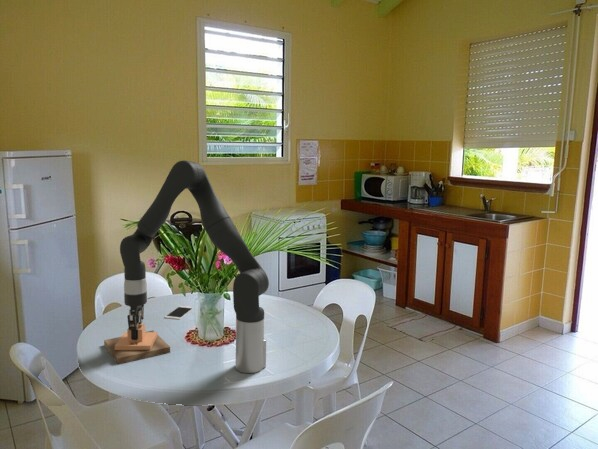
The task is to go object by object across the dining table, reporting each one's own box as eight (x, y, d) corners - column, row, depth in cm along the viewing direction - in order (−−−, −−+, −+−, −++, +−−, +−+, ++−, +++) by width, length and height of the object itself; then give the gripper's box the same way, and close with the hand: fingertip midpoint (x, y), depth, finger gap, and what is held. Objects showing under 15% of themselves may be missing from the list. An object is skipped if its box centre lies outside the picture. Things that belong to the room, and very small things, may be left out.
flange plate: (124, 336, 175) (123, 320, 174) (157, 336, 176) (157, 320, 175) (114, 350, 163) (114, 333, 162) (150, 349, 164) (150, 333, 163)
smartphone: (194, 308, 215) (194, 306, 214) (179, 320, 200) (179, 318, 199) (179, 307, 216) (179, 305, 216) (164, 319, 201) (163, 316, 201)
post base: (153, 335, 182) (153, 319, 181) (170, 352, 168) (170, 334, 167) (104, 345, 172) (103, 328, 171) (117, 364, 157) (117, 345, 156)
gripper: (141, 296, 160) (142, 344, 162) (150, 284, 174) (151, 329, 176) (118, 296, 159) (120, 344, 162) (129, 284, 173) (131, 329, 176)
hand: (136, 336), depth 169 cm, fingers closed on flange plate, 5 cm apart
